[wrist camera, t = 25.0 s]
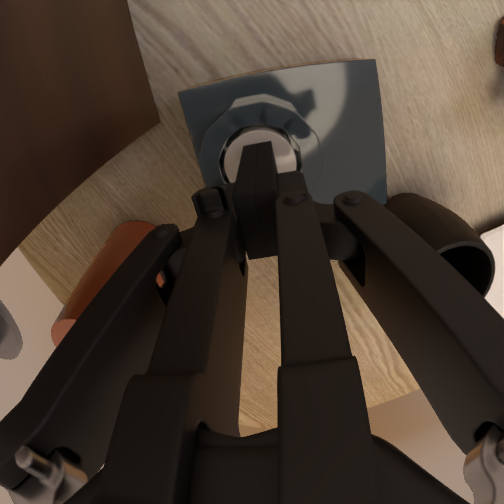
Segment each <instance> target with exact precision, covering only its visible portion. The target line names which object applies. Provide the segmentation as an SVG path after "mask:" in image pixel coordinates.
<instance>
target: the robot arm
mask: <svg viewBox="0 0 504 504" xmlns="http://www.w3.org/2000/svg"><path fill="white" fill-rule="evenodd" d="M191 198H192V201H193V204H194V207H195V210H196V213H197V216H198V217H197V220H196V223H195V226H194V227H192V228H190V229H187V230H185V231H182V232H179V229H178V227H177V225H175V224H162V225H159V226H157V227H156V228H155V229H153V230H151V231H150V232H149V233H148V234H147V235H146V236H145V237H144V238H143V239H142V240H141V242H140V243H139V244H138V245H137V246H136V247H135V248H134V250H133V251H132V252H131V253H130V254H129V255H128V257H127V258H126V259H125V260H124V261H123V263H122V264H121V265H120V266H119V267H118V269H117V270H116V271H115V272H114V273H113V275H112V276H111V277H110V278H109V279H108V281H107V282H106V283H105V284H104V286H103V287H102V288H101V289H100V291H99V292H98V293H97V294H96V296H95V297H94V298H93V299H92V301H91V302H90V303H89V305H88V306H87V307H86V308H85V310H84V311H83V312H82V314H81V315H80V316H79V318H78V319H77V320H76V322H75V323H74V324H73V326H72V327H71V328H70V330H69V331H68V332H67V334H66V335H65V336H64V338H63V339H62V341H61V342H60V343H59V345H58V346H57V348H56V349H55V350H54V352H53V353H52V355H51V356H50V358H49V359H48V361H47V362H46V364H45V365H44V366H43V368H42V369H41V371H40V372H39V374H38V375H37V377H36V378H35V380H34V381H33V383H32V384H31V386H30V387H29V389H28V390H27V392H26V394H25V395H24V397H23V398H22V400H21V401H20V402H19V403H18V404H17V405H16V406H15V407H14V408H13V409H12V410H11V411H10V412H9V413H8V414H7V415H6V416H5V417H4V418H3V420H1V421H0V485H1V486H3V487H4V488H5V489H7V491H8V492H9V495H10V496H11V499H12V501H13V503H14V504H470V503H468V502H467V501H466V500H464V499H463V498H461V497H460V496H459V495H457V494H456V493H455V492H453V491H452V490H450V489H449V488H448V487H447V486H445V485H444V484H443V483H441V482H440V481H438V480H437V479H436V478H435V477H433V476H432V475H431V474H429V473H428V472H427V471H426V470H424V469H423V468H422V467H420V466H419V465H418V464H417V463H415V462H414V461H413V460H412V459H410V458H409V457H408V456H407V455H405V454H404V453H403V452H402V451H400V450H399V449H398V448H396V447H395V446H393V445H392V444H391V443H389V442H387V441H386V440H384V439H382V438H380V437H378V436H375V435H373V434H371V431H370V424H369V418H368V412H367V407H366V401H365V396H364V391H363V385H362V380H361V375H360V370H359V366H358V362H357V359H356V357H355V356H352V353H351V349H350V344H349V340H348V335H347V330H346V326H345V321H344V317H343V312H342V308H341V304H340V300H339V295H338V291H337V287H336V283H335V279H334V275H333V271H332V267H331V263H330V260H338V263H339V266H340V268H341V269H342V271H343V272H344V273H345V275H346V276H347V278H348V279H349V280H350V282H351V283H352V285H353V286H354V287H355V289H356V290H357V292H358V293H359V295H360V296H361V297H362V299H363V300H364V302H365V303H366V305H367V306H368V308H369V309H370V311H371V312H372V314H373V315H374V316H375V318H376V319H377V321H378V322H379V324H380V325H381V327H382V328H383V330H384V331H385V333H386V334H387V336H388V337H389V339H390V340H391V342H392V344H393V345H394V347H395V348H396V350H397V351H398V353H399V354H400V356H401V357H402V359H403V361H404V362H405V364H406V365H407V367H408V368H409V370H410V372H411V373H412V375H413V376H414V378H415V380H416V381H417V383H418V384H419V386H420V388H421V389H422V391H423V393H424V394H425V396H426V397H427V399H428V401H429V402H430V404H431V406H432V408H433V409H434V411H435V413H436V414H437V416H438V418H439V420H440V421H441V423H442V424H443V426H444V428H445V429H446V431H447V432H448V434H449V435H450V437H451V438H452V440H453V441H454V442H455V443H456V444H457V446H458V447H459V448H460V449H461V450H462V452H463V453H464V454H466V455H467V456H466V459H465V462H464V468H463V469H464V470H463V473H464V478H465V481H466V483H467V484H468V485H469V487H470V488H471V490H472V492H473V495H474V500H475V501H474V504H504V319H503V317H502V316H501V315H500V314H499V313H498V312H497V311H496V310H495V309H494V308H493V307H492V306H491V304H490V303H489V302H488V301H487V300H486V299H485V298H484V297H483V296H482V295H481V294H480V293H479V292H478V291H477V290H476V289H475V288H474V287H473V286H472V285H471V284H470V283H469V282H468V281H467V280H466V279H465V278H464V277H463V276H462V275H461V274H460V273H459V272H458V271H457V270H456V269H455V268H454V267H453V266H452V265H451V264H450V263H448V262H447V261H446V260H445V259H444V258H443V257H442V256H441V255H440V254H439V253H438V252H437V251H435V250H434V249H433V248H432V247H431V246H430V245H429V244H428V243H427V242H425V241H424V240H423V239H422V238H421V237H420V236H419V235H417V234H416V233H415V232H414V231H413V230H412V229H411V228H409V227H408V226H407V225H406V224H405V223H403V222H402V221H401V220H400V219H399V218H397V217H396V216H395V215H394V214H393V213H391V212H390V211H389V210H388V209H386V208H385V207H384V206H383V205H381V204H380V203H379V202H378V201H376V200H375V199H374V198H373V197H371V196H370V195H369V194H367V193H365V192H361V191H357V190H354V191H353V190H350V191H347V192H343V193H340V194H338V195H337V196H335V197H334V200H333V203H334V204H322V203H318V202H315V201H313V198H312V196H311V195H310V194H309V192H308V188H307V185H306V182H305V179H304V175H303V173H301V172H299V171H298V170H296V171H289V172H283V173H278V171H277V166H276V161H275V156H274V152H273V147H272V142H271V141H266V142H261V143H256V144H251V145H245V146H243V149H242V154H241V158H240V163H239V167H238V172H237V176H236V181H235V182H233V183H228V184H223V185H215V186H209V187H206V188H203V189H201V190H199V191H197V192H196V193H194V194H193V195H192V197H191ZM246 251H247V255H248V258H249V260H251V259H258V258H264V257H271V256H277V255H278V274H279V300H280V329H281V367H278V375H277V399H278V427H277V428H274V429H271V430H267V431H264V432H260V433H257V434H254V435H250V436H246V437H240V433H239V426H238V418H239V402H240V387H241V371H242V356H243V341H244V326H245V311H246V296H247V281H248V264H247V260H246V257H245V256H246ZM159 273H160V275H161V277H162V279H163V282H164V283H163V285H162V286H161V287H160V286H159V285H158V283H157V281H156V278H157V276H158V274H159ZM1 341H2V338H1V334H0V344H1ZM103 464H104V467H103V468H102V469H101V470H100V468H101V467H102V466H103ZM99 470H100V471H99ZM98 471H99V472H98Z"/></svg>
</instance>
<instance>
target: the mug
mask: <svg viewBox="0 0 504 504" xmlns="http://www.w3.org/2000/svg"><path fill="white" fill-rule="evenodd" d="M383 206H384V207H385V208H386V209H388V210H389V211H390V212H391V213H393V214H394V215H395V216H396V217H397V218H399V219H400V220H401V221H402V222H403V223H405V224H406V225H407V226H408V227H409V228H411V229H412V230H413V231H414V232H415V233H416V234H417V235H419V236H420V237H421V238H422V239H423V240H424V241H425V242H427V243H428V244H429V245H430V246H431V247H432V248H433V249H434V250H435V251H437V252H438V253H439V254H440V255H441V256H442V257H443V258H444V259H445V260H446V261H447V262H448V263H450V264H451V265H452V266H453V267H454V268H455V269H456V270H457V271H458V272H459V273H460V274H461V275H462V276H463V277H464V278H465V279H466V280H467V281H468V282H469V283H470V284H471V285H472V286H473V287H474V288H475V289H476V290H477V291H478V292H479V293H480V294H481V295H482V296H483V297H484V298H485V297H486V295H487V293H488V292H489V290H490V288H491V285H492V283H493V280H494V275H495V260H494V257H493V254H492V251H491V250H490V249H489V247H488V246H487V245H486V244H485V243H484V241H483V240H482V239H481V238H480V237H479V236H478V235H477V233H476V232H475V231H474V230H473V229H472V228H471V227H470V226H469V225H468V224H467V223H466V221H464V220H463V219H462V218H461V217H459V216H458V215H457V214H455V213H454V212H452V211H450V210H449V209H447V208H445V207H444V206H442V205H440V204H438V203H436V202H434V201H432V200H429V199H426V198H424V197H421V196H419V195H417V194H414V193H402V194H398V195H396V196H394V197H392V198H390V199H389V200H388V201H387V204H384V205H383Z"/></svg>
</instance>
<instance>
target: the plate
mask: <svg viewBox="0 0 504 504" xmlns="http://www.w3.org/2000/svg"><path fill="white" fill-rule="evenodd" d="M480 238H481V239H482V240H483V241H484V243H485V244H486V245H487V246H488V247H489V249H490V250H491V251H492V254H493V257H494V260H495V275H494V280H493V283H492V285H491V288H490V290H489V292H488V293H487V295H486V297H485V299H486V300H487V301H488V302H489V303H490V304H491V306H492V307H493V308H494V309H495V310H496V311H497V312H498V313H499V314H500V315H501V316H502V317H503V319H504V224H502V225H499V226H497V227H495V228H492V229H490V230H487V231H485V232H483V233H482V234H481V235H480Z"/></svg>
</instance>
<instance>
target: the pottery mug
mask: <svg viewBox="0 0 504 504" xmlns="http://www.w3.org/2000/svg"><path fill="white" fill-rule="evenodd" d="M495 59H496V63H497V64H499V65H502V66H504V18H503V19H502V22H501V25H500V26H499V30H498V32H497V39H496V45H495Z"/></svg>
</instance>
